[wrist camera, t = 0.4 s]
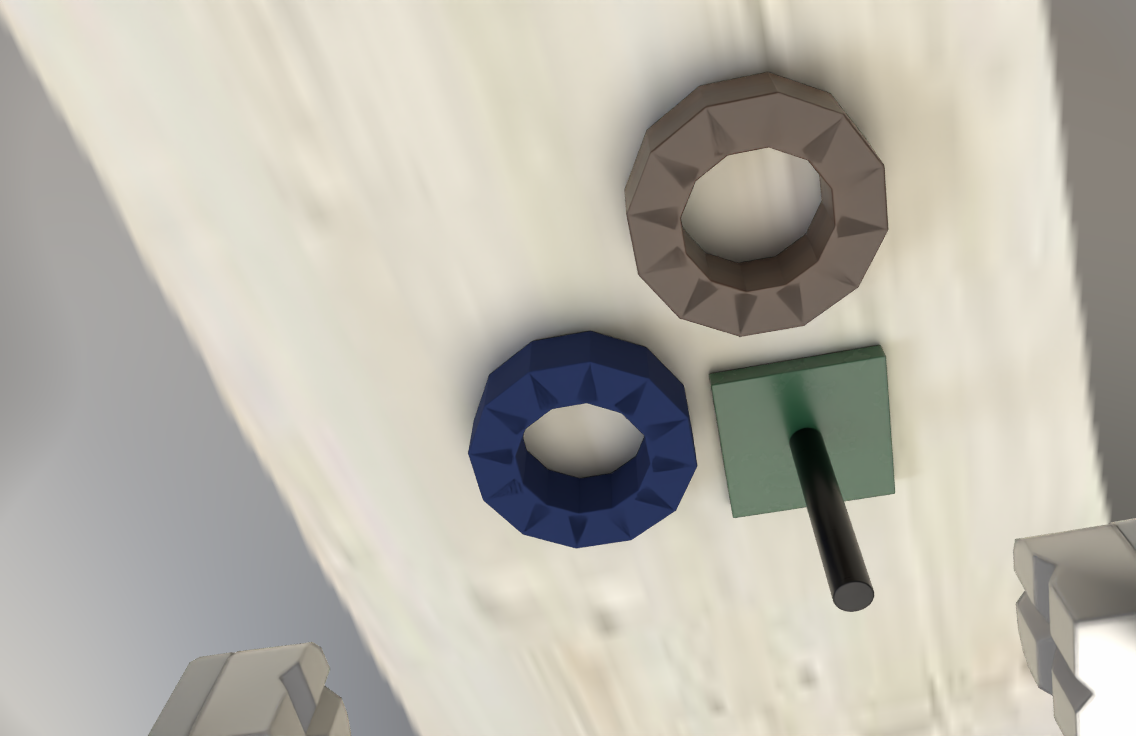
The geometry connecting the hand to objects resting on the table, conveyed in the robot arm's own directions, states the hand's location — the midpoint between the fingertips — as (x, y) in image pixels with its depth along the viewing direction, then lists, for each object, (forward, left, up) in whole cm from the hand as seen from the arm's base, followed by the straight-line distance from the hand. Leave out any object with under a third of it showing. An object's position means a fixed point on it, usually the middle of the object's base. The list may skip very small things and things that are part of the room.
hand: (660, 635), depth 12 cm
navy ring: (+23, -6, -39) cm, 46 cm away
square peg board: (+25, +6, -39) cm, 47 cm away
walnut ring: (+11, +5, -39) cm, 41 cm away
